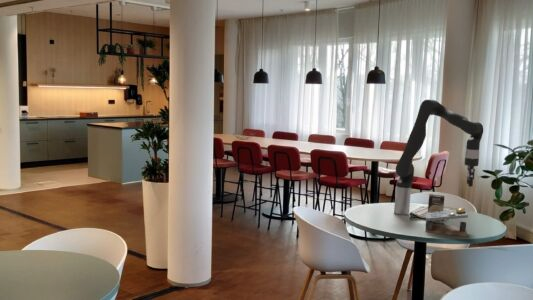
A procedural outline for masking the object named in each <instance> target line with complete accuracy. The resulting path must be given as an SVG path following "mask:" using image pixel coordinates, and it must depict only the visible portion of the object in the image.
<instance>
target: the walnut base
mask: <svg viewBox="0 0 533 300" xmlns="http://www.w3.org/2000/svg"><path fill="white" fill-rule="evenodd" d="M425 233H431V234H440V235H441V234H442V235H451V236H458V237H459V236H460V237H468V232H467V222H465V221H460V222H459V226H455V225H447V224H440V223H433V222H432V221H426V220H425Z"/></svg>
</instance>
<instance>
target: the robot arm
mask: <svg viewBox="0 0 533 300" xmlns="http://www.w3.org/2000/svg"><path fill="white" fill-rule="evenodd" d="M430 116H437V117H440V118H442V119H444V120H445V121H447V122H448V123H449V124H451V125H452V126H454V127H456V128H458V129H460V130H462V131H463V132H464V133H465V134H468V135H470V137H469V138H468V139H467V141H466V146H465V153H464V155H465V156H464V166H467V168H466V184H467V185H468V187H471V188H472V187H473V186H474V179H475V173H476V168H475V167H478V166H479V163H480V144H481V140H482V138H483V134H484V126H483V124H482V123H480V122H478V121H476V122H475V121H474V122H473V121H470V120H469V119H468V118H467V117H465V116H463V115H462V114H460V113H457V112H455V111H452V110H451V109H449V108H447V107H446V106H444V105H443V104H441V103H440V102H438V101H437V100H435V99H427V98H426V99H424V100H423V101H421V104H420V105H419V109H418V112H417V116H416V119H415V122H414V125H413V127H412V130H411V132H410V134H409V137H408V139H407V141H406V144H405V147H404V149H403V152H402V154H401V156H400V158H399V160H398V161H397V164H396V166H395V174H396V176H398V177H399V179H398V180H397V181H396V186H395V199H394V208H393V214H398V215H403V216H405V215H409V214H410V206H411V193H412V184H413V181H414V176H415V175H414V174H415V167H414V164H413V163H412V161H413V159H414V158H415V156H416V155H417V154H418V153H419V152H420V150H421V148H422V147H423V145H424V142H425V139H426V137H427V123H428V120H429V118H430Z"/></svg>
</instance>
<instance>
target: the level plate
mask: <svg viewBox="0 0 533 300" xmlns="http://www.w3.org/2000/svg"><path fill="white" fill-rule="evenodd" d="M425 214H426V215H425V222H426V221H434V220H442V221H443V220H445V221H446V220H454V219H455V220H457V219H468V217H469V216H468V215H469V214H468V212H467V209H466V208H465V207H458V208H455V209H451V210H450V209H448V210H443V211H436V212H428V211H426V212H425Z"/></svg>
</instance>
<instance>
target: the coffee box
mask: <svg viewBox="0 0 533 300" xmlns="http://www.w3.org/2000/svg"><path fill="white" fill-rule="evenodd" d="M428 195H429V196H428V202H427V212H436V211H444V205H445V195H440V194H433V193H430V194H428ZM432 223H433V224H440V225H443V224H442V223H443V220H434V221H432Z"/></svg>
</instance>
